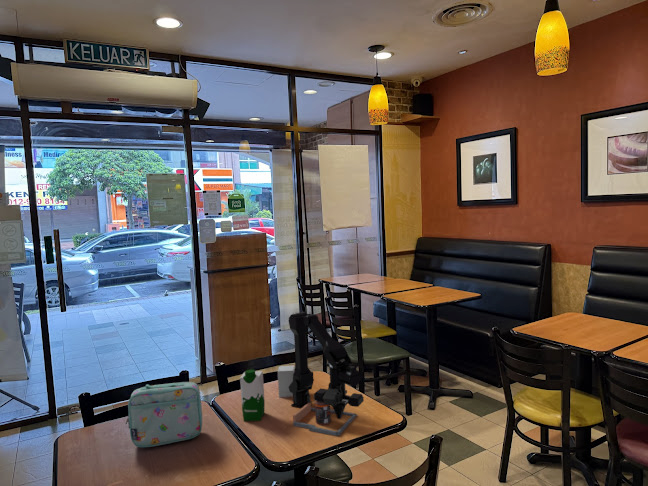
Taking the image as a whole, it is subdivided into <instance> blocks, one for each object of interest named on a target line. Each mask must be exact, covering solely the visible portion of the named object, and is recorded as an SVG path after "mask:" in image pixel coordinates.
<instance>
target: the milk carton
mask: <svg viewBox="0 0 648 486" xmlns="http://www.w3.org/2000/svg"><path fill="white" fill-rule="evenodd" d="M239 382H240V394H241V395H240V396H241V397H240V398H241V411H242V419H243V421H244V422H260V421H262V419H263V416H265V415H264V414H265V402H266V401H265V388H264V386H265V385H264V373H263V370H255V369H252V368H251V369H247V370H245V371H244V372H243V373H242V375H241V376H240V377H239Z"/></svg>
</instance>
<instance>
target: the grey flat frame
mask: <svg viewBox="0 0 648 486" xmlns="http://www.w3.org/2000/svg"><path fill="white" fill-rule="evenodd" d="M310 412H315V407H312V402H311V403H307V404H306V405H305V406H304V407H302V408H300V409H299V410H298V411H296V412H295V413H294V414H293V415H292V425H293V427H298V428H304V429H308V431H310V432H313V433H318V434H324V435H329V436H334V437H340V436H341V434H342V433H343V432H344V431H345V430H346V429H347V427H348V426H349V425H350V424H351V423H352V422H353V421H354V419H356V417H357V416H358V414H357V413H354V412H348V411H344V412H343V415H342V416H348V417H349V416H350V417H349V418H348V420H346V422H344V423H343V424H342V425H341V427H340V428H339V429H338V430H332V429H327V428H321V427H317V426H316V425H315V424H310V423H305V422H301V421H302V419H304V418H305V417H306V416H307V415H308V414H309V413H310ZM330 413H331V414H336V413H335V411H334V409H331V408H330Z"/></svg>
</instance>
